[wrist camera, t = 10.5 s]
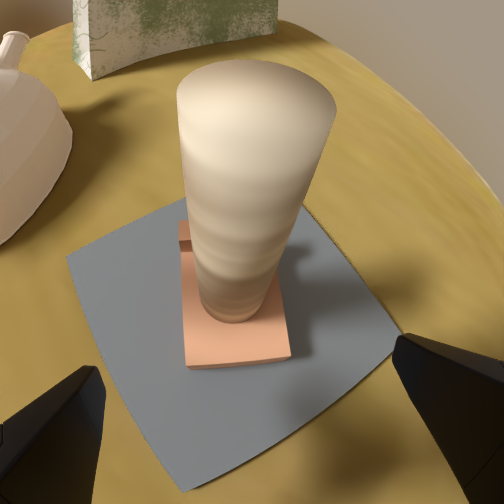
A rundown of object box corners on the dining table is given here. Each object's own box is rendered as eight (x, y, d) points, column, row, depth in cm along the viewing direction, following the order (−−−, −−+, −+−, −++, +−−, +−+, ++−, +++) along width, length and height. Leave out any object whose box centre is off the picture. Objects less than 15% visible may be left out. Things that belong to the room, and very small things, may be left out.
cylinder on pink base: (282, 361, 15) (442, 234, 4) (189, 370, 15) (93, 253, 3) (264, 245, 19) (320, 41, 7) (184, 250, 18) (156, 37, 7)
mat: (398, 341, 17) (405, 338, 17) (184, 489, 12) (182, 493, 11) (264, 171, 23) (266, 164, 22) (70, 261, 17) (65, 256, 17)
